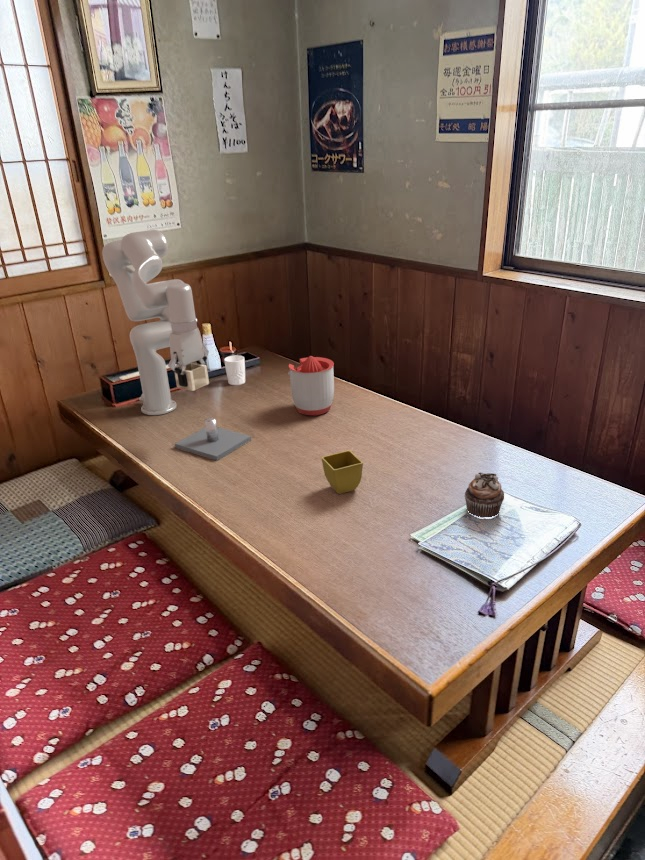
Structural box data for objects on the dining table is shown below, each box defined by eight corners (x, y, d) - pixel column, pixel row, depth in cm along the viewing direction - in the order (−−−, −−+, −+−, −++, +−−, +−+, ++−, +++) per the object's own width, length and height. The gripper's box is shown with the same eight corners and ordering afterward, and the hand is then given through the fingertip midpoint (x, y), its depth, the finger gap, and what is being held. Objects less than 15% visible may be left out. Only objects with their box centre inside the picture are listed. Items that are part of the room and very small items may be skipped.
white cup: (245, 385, 249) (242, 361, 245) (225, 386, 249) (222, 362, 245) (248, 378, 256) (245, 354, 252) (228, 379, 256) (225, 355, 252)
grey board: (175, 447, 202) (174, 443, 201) (210, 428, 214) (209, 424, 213) (217, 460, 192) (216, 456, 192) (251, 440, 204) (250, 436, 204)
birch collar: (177, 387, 197) (174, 369, 194) (193, 380, 202) (190, 362, 199) (193, 390, 193) (190, 372, 190) (209, 383, 198) (206, 365, 196)
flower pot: (322, 485, 176) (320, 456, 173) (350, 477, 179) (349, 449, 176) (335, 499, 169) (333, 470, 165) (364, 492, 172) (363, 462, 168)
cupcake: (460, 501, 165) (462, 468, 161) (498, 500, 165) (501, 467, 161) (467, 522, 157) (469, 487, 152) (506, 521, 156) (510, 486, 152)
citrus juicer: (305, 397, 235) (302, 345, 227) (344, 406, 226) (342, 352, 217) (278, 411, 224) (274, 358, 215) (318, 422, 214) (315, 366, 206)
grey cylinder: (204, 440, 202) (202, 420, 199) (212, 436, 205) (209, 416, 202) (213, 443, 200) (210, 423, 197) (220, 438, 203) (218, 418, 200)
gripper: (195, 318, 198) (203, 372, 205) (153, 332, 185) (163, 389, 192) (213, 320, 194) (220, 375, 201) (171, 334, 181) (180, 393, 188)
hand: (192, 381), depth 197 cm, fingers closed on birch collar, 7 cm apart
